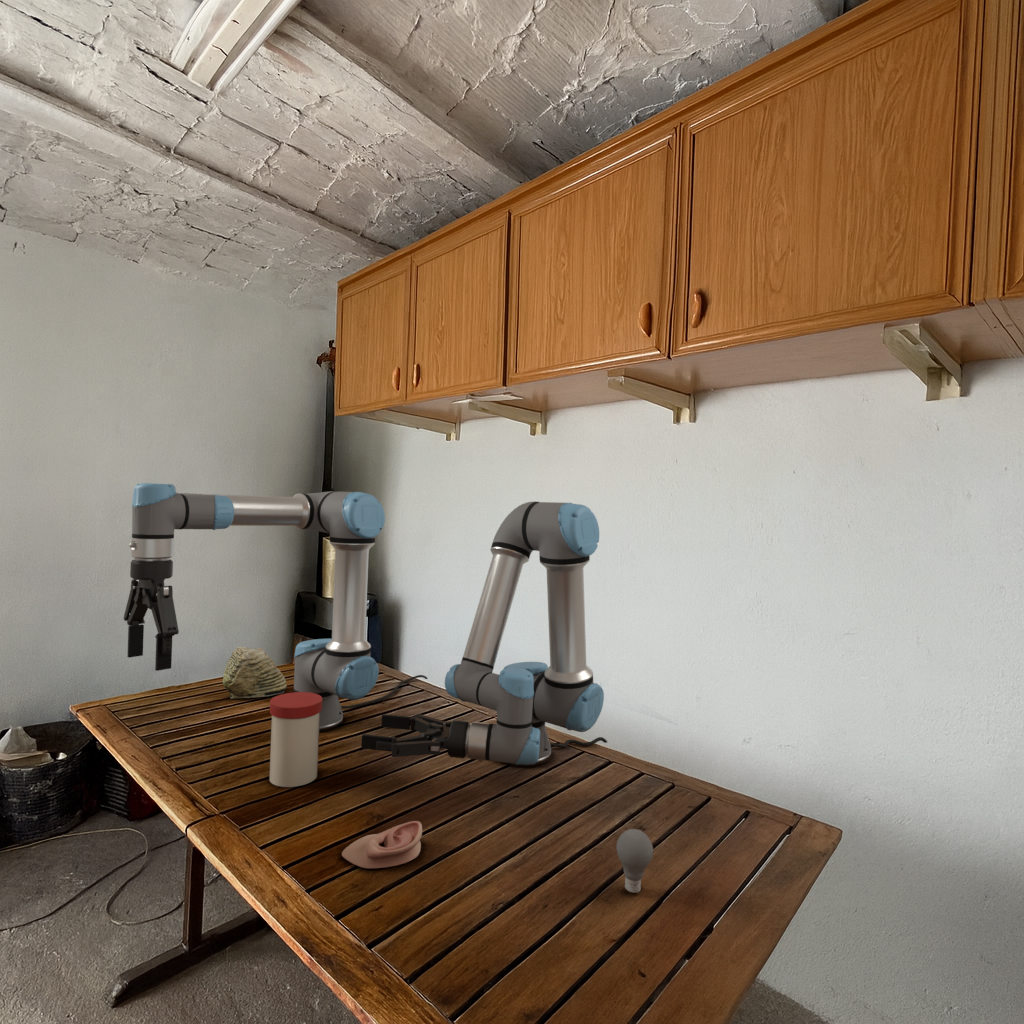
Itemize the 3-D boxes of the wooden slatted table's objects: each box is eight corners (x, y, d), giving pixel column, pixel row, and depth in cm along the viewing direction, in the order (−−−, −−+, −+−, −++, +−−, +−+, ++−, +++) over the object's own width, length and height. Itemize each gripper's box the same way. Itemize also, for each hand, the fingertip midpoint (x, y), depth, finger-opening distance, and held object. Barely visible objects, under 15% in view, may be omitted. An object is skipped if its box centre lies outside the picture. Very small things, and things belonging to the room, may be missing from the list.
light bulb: (610, 879, 108) (613, 822, 108) (644, 879, 109) (647, 822, 109) (619, 902, 102) (622, 840, 102) (655, 901, 103) (658, 840, 103)
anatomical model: (334, 840, 110) (362, 809, 121) (333, 863, 110) (362, 830, 121) (406, 852, 107) (429, 819, 118) (405, 875, 107) (428, 840, 118)
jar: (264, 787, 137) (267, 709, 136) (274, 767, 147) (276, 694, 146) (314, 786, 138) (317, 708, 138) (320, 766, 149) (322, 694, 148)
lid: (264, 719, 136) (265, 708, 136) (275, 702, 147) (275, 692, 147) (318, 718, 138) (319, 707, 138) (324, 702, 149) (325, 691, 149)
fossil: (218, 695, 195) (220, 647, 195) (278, 685, 208) (279, 640, 207) (228, 703, 189) (230, 653, 188) (289, 692, 201) (290, 645, 201)
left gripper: (108, 554, 134) (104, 654, 134) (159, 565, 118) (155, 678, 119) (146, 552, 140) (143, 648, 140) (199, 563, 124) (195, 671, 124)
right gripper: (456, 781, 124) (351, 770, 126) (476, 737, 149) (388, 728, 151) (458, 742, 124) (353, 732, 126) (478, 705, 149) (390, 697, 151)
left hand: (148, 662), depth 129 cm, fingers open, 13 cm apart
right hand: (372, 730), depth 139 cm, fingers open, 13 cm apart
